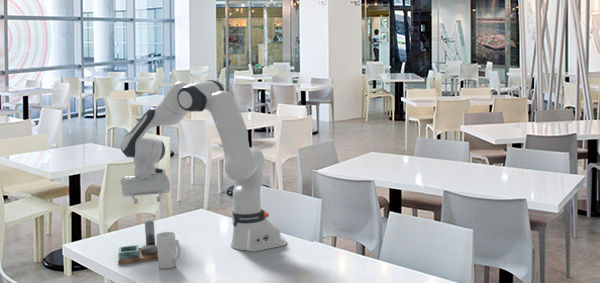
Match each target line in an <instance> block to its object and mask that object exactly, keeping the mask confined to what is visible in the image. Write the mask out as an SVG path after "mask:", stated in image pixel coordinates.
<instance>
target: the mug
mask: <svg viewBox="0 0 600 283" xmlns="http://www.w3.org/2000/svg"><path fill="white" fill-rule="evenodd" d="M155 240H156V246H157V251H158V260H157V261H158V262H157V263H158V267H159V269H162V270H169V269H173V268H174V267H176V266H177V261H180V257H181V254H182V249H181V244H180V242H179V239H177V238H176V232H173V231H162V232H160V233H157V234H156V235H155ZM176 250H177V251H176ZM176 252H177V253H176Z"/></svg>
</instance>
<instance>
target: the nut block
mask: <svg viewBox="0 0 600 283" xmlns="http://www.w3.org/2000/svg"><path fill="white" fill-rule="evenodd" d="M117 253H118V254H117V264H120V265H125V264H127V263H128V264H134V263H143V262H150V261H151V262H152V261H158V251H157V245H156V244H155V245H148V246H146V245H143V246H142V247H139V244H133V245H126V246H119V247H118V252H117ZM128 264H127V265H128Z"/></svg>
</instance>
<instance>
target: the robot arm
mask: <svg viewBox="0 0 600 283" xmlns="http://www.w3.org/2000/svg"><path fill="white" fill-rule="evenodd" d="M205 110H206V111H208V112H209V113H210V115H211V118H212V119H213V122H214V125H215V127H216V130H217V134H218V135H219V138H220V141H221V145H222V149H223V156H224V161H225V166H224V168H225V169H224V170H225V171H224V172H225V174H226V176H227V177H228V178H229V179H231V180H233V181H234V187H233V189H232V204H233V206H232V207H233V210H232V216H231V218H232V226H233V231H232V238H231V242H230V247H231V248H233V249H236V250H240V251H246V252H253V253H254V252H258V251H259V252H260V251H264V250H269V249H274V248H279V247H283V246H286V245H287V240H286V237H284V236H283V235H281V232H280V231H281V230H280V229H279V227H278V225H277V224H275V223H274V222H272V221H271V220H269V219H268V218H269V217H270V214H269V213H268V212H267V211H266V210H264V209H263V208H262V207H261V205H262V204H261V203H262V202H261V201H262V200H261V198H262V197H261V187H262V179H263V169H264V168H263V167H264V162H265V157H264V154H263V152H262V151H261V150H260V149H258V148H256V147H250V142H249V132H248V131H249V130H248V128H247V125H246V123H245V121H244V118H243V115H242V113H241V111H240V108H239V106H238V104H237V102H236V100H235V98H234V97H233V96H232V94H231V92H229V91H227V90H225V87H224V85H223V84H222V83H221V82H220V81H218V80H214V79H209V80H204V81H196V82H193V83H191V84H189V83H188V82H186V81H177V82H175V83H174V84H173V85H172V86H171V87H170V88H169V89H168V91H167V92H166V94H165V95H164V97H163V99H162V100H161V102H159V104H158V105H155V106H154V107H152V108H150V109H147V111H146V112H145V113H144V114H143V115H142V116H141V118H140V119H139V121H138V122H137V123H136V124H135V126H134V127H133V128H132V130H131V131H129V133H127V135H125V136H124V137H123V139H122V142H121V144H120V149H121V152H122V153H123V155H124V156H125V157H127V158H131V159H132V158H133V164H134V165H133V166H134V170H133V171H134V175H129V176H124V177H122V178H121V179H120V185H121V195H122V196H123V197H124V198H125V197H130V198H131V199H132V201H133V204H134V205H137V204H138V198H136V197H137V196H149V195H158V196H156V202H157V203H160V202H161V198H162V197H163V194H169V193H170V192H171V183H170V180H169V177H168V175H166V174H167V173H166V169H163V168H159V167H155V164H157V163H158V162H160V161H162V159H164V156H165V155H166V146H165V143H164V141H163V140H161V139H160V138H154V137H147V136H145V135H146V133H147V132H148V131H149V130H150V129H151V128H154V127H160V126H173V125H178V124H179V123H180V122H181V121H182V120H184V118H185V116H186V115H187V113H188V112H190V113H191V112H195V113H196V112H204V111H205Z"/></svg>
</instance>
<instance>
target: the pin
mask: <svg viewBox="0 0 600 283" xmlns="http://www.w3.org/2000/svg"><path fill="white" fill-rule="evenodd" d="M144 232H145V246H148V245H155V246H156V235H155V221H154V220H146V221H145V222H144Z"/></svg>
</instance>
